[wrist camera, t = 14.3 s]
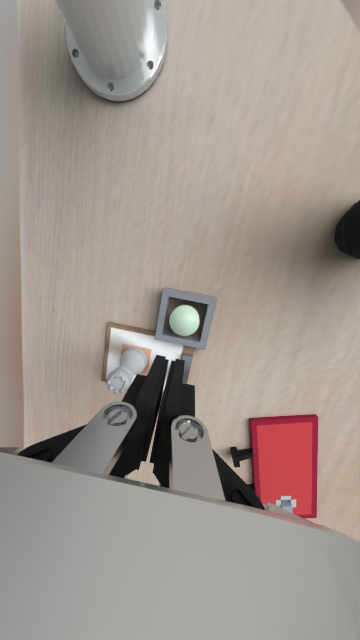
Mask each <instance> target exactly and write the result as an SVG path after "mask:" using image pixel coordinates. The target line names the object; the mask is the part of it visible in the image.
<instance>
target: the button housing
mask: <svg viewBox="0 0 360 640" xmlns="http://www.w3.org/2000/svg"><path fill="white" fill-rule="evenodd" d="M170 297H174V298H179V299H184V300H189V301H194V302H199V303H204V304H207V307H206V311H205V316H204V320H203V325H202V329H201V334H200V337H195V336H190V335H188V336H181V335H178V334H176V333H175V332H171V331H166V330H165V324H166V319H167V313H168V307H169V302H170ZM216 301H217V299H216V298H215V297H211V296H206V295H201V294H196V293H191V292H186V291H181V290H176V289H170V288H163V292H162V298H161V304H160V310H159V316H158V322H157V328H156V334H155V340H160V341H165V342H170V343H175V344H180V345H185V346H189V347H194V348H199V349H204V350H205V348H206V343H207V339H208V335H209V331H210V326H211V322H212V318H213V314H214V309H215V305H216Z"/></svg>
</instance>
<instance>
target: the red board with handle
mask: <svg viewBox="0 0 360 640" xmlns="http://www.w3.org/2000/svg"><path fill="white" fill-rule="evenodd" d="M250 433H251V448H250V449H247V450H244V451H240V452H237V449H236V447H231V453H232V459H233V463H234V467H240V463H239V461H242V460H245V459H248V458H251V457H252V465H253V480H254V484H253V485H250V486H249V487H250V488H251V489H252V490H253V491H254V492H255V494H256V495H257V496H258V497H259V499H260V500H261V502H262V503H263V504H265V505H267V504H268V502H270V503H272V504H274V505H276V506H278V507H280V508H283V509H285V510H287V511H289V512H291V513H293V514H295V515H298V516H300V517H302V518H316V514H317V452H318V416H317V415H316V414H314V415H296V416H278V417H260V418H250Z"/></svg>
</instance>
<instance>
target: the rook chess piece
mask: <svg viewBox="0 0 360 640" xmlns="http://www.w3.org/2000/svg"><path fill="white" fill-rule="evenodd" d="M119 364H120V366H119V367H117V368H116V369H115V370H114V371H112V372H110V373H109V375H108V378H107V385H109V386H110V387H109V388H108V389H109V390H110V391H111V390H112V389H113V390H115V391H114V393H118V392H119V391H120V392H123V391H125V390H127V389H128V388H129V387H130V385H131V380H132V378H133V375H136V374H139V373H140V372H142V371H143V369H144V368H145V366H146V365H147V358H146V355H145V354H144V353H143V351H141V350H139V349H138V348H129V349H127V350H126V351H124V352H123V354H122V355H121V357H120V363H119Z"/></svg>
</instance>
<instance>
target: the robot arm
mask: <svg viewBox="0 0 360 640" xmlns="http://www.w3.org/2000/svg"><path fill="white" fill-rule="evenodd" d="M55 1H56V3H57V5H58V7H59V9H60V11H61V13H62V15H63V17H64V19H65V36H66V42H67V48H68V51H69V54H70V57H71V60H72V62H73V64H74V66H75V68H76V70H77V72H78V73H79V75H80V77H81V78H82V80H83V82H84V83H85V84H86V85H87V86H88V87H89V88H90V89H91V90H92V91H93V92H94V93H96V94H97V95H99V96H101V97H103V98H105V99H108V100H112V101H126V100H130V99H133V98H135V97H137V96H139V95H141V94H142V93H143V92H144V91H146V90H147V89H148V88H149V87H150V86H151V84H152V83H153V82H154V81H155V79H156V78H157V76H158V74H159V72H160V70H161V68H162V65H163V63H164V60H165V56H166V51H167V45H168V27H167V17H166V11H165V5H164V2H163V0H55ZM165 358H166V357H165V356H160V355H156V357H155V359H154V361H153V363H152V366H151V368H150V370H149V372H148V374H147V376H145V375H140V374H137V375H136V377H135V378H134V380H133V382H132V384H131V385H130V387H129V389H128V391H127V393H126V394H125V396H124V398H123V400H122V402H113V403H110V404H108V405H106V406H104V407H103V408H102V409H101V410H100V411H99V412H98V413H97V414H96V415H95V416H94V418H93V419H92V420H91V421H90V422H89V423H88V424H87V425H84V426H81V427H79V428H76V429H73V430H71V431H68V432H65V433H63V434H60V435H57V436H55V437H52V438H49V439H47V440H44V441H41V442H39V443H36V444H34V445H32V446H30V447H27V448H26V449H24V450H23V451H19V448H18V447H6V448H5V447H3V448H0V640H360V541H358V540H356V539H354V538H352V537H350V536H348V535H346V534H343V533H341V532H338V531H335V530H333V529H330V528H328V527H325V526H322V525H319V524H315V523H313V522H310V521H308V520H306V519H304V518H302V517H300V516H298V515H295V514H293V513H291V512H289V511H287V510H285V509H283V508H280V507H278V506H276V505H274V504H272V503H270V502H268V504H267V505H265V504H263V503H262V502H261V500H260V499H259V497H258V496H257V495H256V494H255V492H254V491H253V490H252V489H251V488H250V487H249V486H248V485H247V484H246V483H245V482H244V481H243V480H242V479H241V478H240V477H239V476H238V475H237V474H236V473H235V472H234V471H233V470H232V469H231V468H230V467H229V466H228V465H227V464H226V463H225V462H224V460H223V459H222V458H221V457H220V456H219V455H218V454H217V453H216V452H215V451H214V450H213V449H212V447H211V443H210V439H209V435H208V431H207V429H206V427H205V425H204V424H203V423H202V422H201V421H200V420H198V419H197V418H195V386H194V385H189V384H184V383H183V374H184V364H185V360H180V359H176V360H175V361H171V365H170V369H169V373H168V377H167V381H166V384H165V388H164V383H165V377H166V372H167V367H168V361H169V360H168V359H165ZM163 388H164V392H163ZM162 393H163V396H162ZM161 399H162V400H161ZM160 404H161V405H160ZM159 408H160V410H159ZM158 412H159V415H158ZM157 416H158V420H157V426H156V431H155V436H154V442H153V447H152V452H151V458H150V463H154V468H153V473H154V475H155V476H156V478H157V479H158V481H159V486H157V485H152V484H148V483H143V482H139V481H134V480H130V479H127V477H128V474H129V473H131V472H132V471H134V470H135V469H137V470H139V467H140V463H141V461H145V462H146V459H147V455H148V451H149V447H150V443H151V439H152V435H153V431H154V427H155V423H156V419H157Z"/></svg>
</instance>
